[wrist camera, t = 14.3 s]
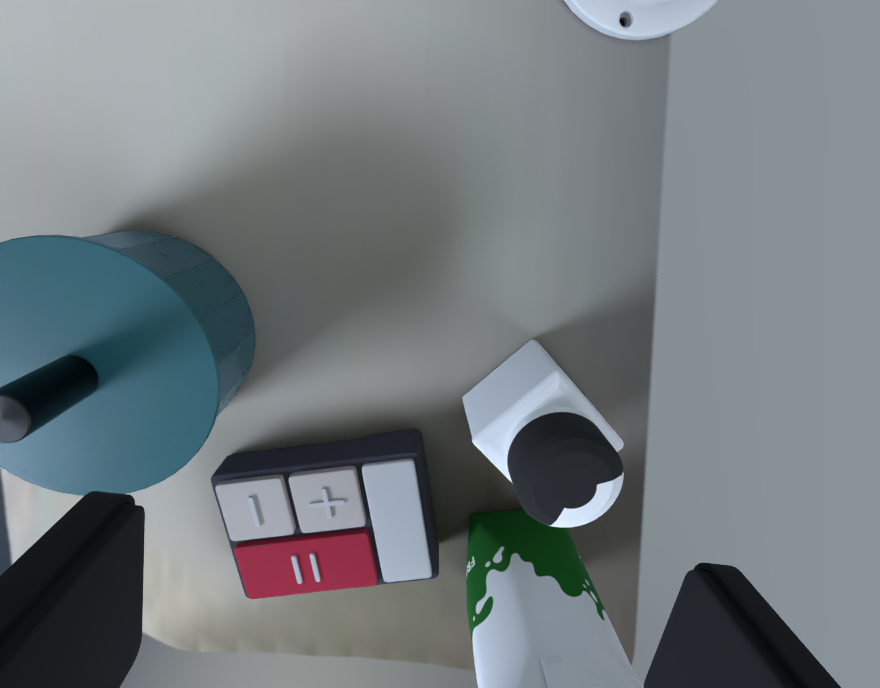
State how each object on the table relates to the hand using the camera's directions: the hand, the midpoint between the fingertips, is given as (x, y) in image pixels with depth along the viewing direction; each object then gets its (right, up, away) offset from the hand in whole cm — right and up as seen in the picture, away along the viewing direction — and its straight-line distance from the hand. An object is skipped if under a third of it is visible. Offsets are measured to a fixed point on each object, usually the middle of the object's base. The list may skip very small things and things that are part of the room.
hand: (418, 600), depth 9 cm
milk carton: (+6, -12, +34) cm, 37 cm away
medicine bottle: (+7, 0, +30) cm, 31 cm away
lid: (-19, +3, +19) cm, 27 cm away
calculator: (-8, -8, +32) cm, 34 cm away
